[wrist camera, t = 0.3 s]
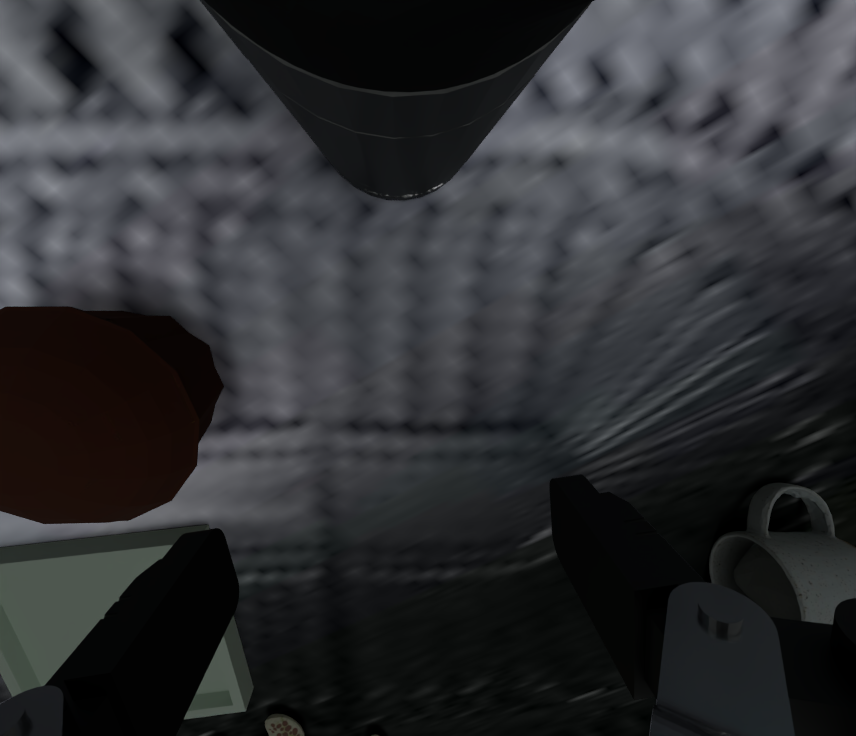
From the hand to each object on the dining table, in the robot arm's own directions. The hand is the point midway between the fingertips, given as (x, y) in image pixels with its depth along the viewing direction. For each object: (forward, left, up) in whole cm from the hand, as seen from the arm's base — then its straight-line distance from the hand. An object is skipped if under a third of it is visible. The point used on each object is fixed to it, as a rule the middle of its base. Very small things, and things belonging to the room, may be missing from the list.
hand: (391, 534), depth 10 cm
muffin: (0, -16, -18) cm, 23 cm away
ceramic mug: (+18, +27, -18) cm, 37 cm away
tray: (+19, -23, -17) cm, 34 cm away
